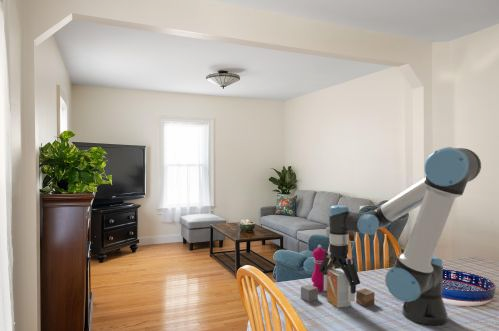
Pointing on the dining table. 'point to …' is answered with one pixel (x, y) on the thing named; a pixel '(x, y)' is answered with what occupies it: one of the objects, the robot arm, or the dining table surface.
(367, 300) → the walnut block
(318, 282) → the pepper mill
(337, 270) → the small box
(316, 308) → the dining table surface
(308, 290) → the charcoal block
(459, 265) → the dining table surface
